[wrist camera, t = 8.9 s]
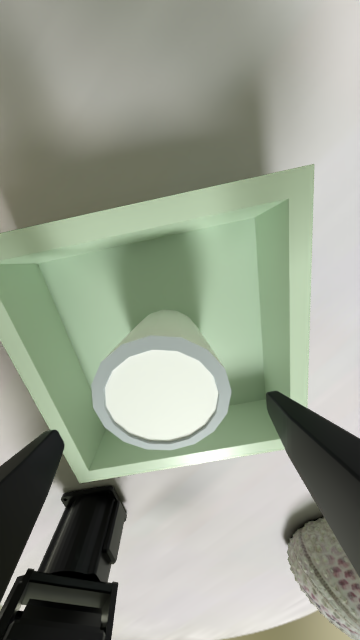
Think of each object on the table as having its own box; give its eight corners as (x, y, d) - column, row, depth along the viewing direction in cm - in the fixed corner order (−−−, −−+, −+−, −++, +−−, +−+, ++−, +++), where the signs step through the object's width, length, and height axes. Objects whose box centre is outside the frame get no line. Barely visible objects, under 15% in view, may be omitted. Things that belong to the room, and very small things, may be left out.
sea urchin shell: (333, 564, 30) (387, 668, 22) (262, 549, 28) (295, 657, 20) (390, 517, 26) (478, 622, 19) (313, 496, 24) (376, 604, 17)
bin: (102, 429, 20) (79, 483, 15) (25, 250, 14) (-53, 244, 9) (273, 399, 19) (306, 445, 14) (264, 198, 13) (314, 163, 8)
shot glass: (193, 383, 17) (206, 462, 10) (120, 366, 16) (81, 440, 9) (218, 314, 15) (254, 356, 8) (135, 291, 14) (100, 318, 7)
